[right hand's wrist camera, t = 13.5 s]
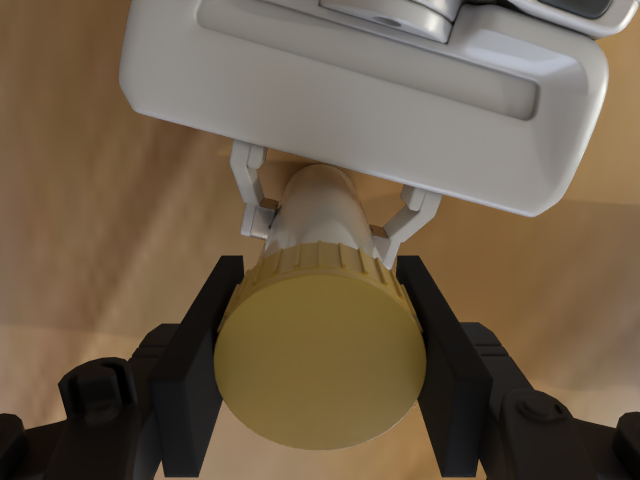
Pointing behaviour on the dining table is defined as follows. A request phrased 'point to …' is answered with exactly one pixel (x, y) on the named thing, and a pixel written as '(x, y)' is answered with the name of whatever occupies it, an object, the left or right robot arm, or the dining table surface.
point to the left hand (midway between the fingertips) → (316, 249)
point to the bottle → (320, 213)
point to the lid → (320, 348)
